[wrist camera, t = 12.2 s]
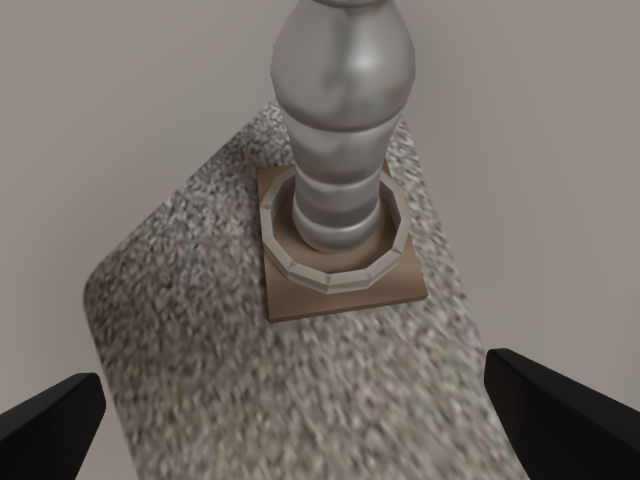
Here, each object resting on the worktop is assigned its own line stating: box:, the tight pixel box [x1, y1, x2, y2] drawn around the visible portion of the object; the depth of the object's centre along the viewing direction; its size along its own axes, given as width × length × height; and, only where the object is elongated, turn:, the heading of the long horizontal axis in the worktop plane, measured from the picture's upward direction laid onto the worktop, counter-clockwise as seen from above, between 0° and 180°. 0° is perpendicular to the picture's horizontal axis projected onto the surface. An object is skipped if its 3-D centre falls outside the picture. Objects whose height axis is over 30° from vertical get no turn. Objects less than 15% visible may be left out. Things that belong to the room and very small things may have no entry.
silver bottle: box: [271, 0, 416, 254], centre depth 20 cm, size 6×7×20 cm
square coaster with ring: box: [256, 158, 428, 323], centre depth 28 cm, size 14×12×3 cm
